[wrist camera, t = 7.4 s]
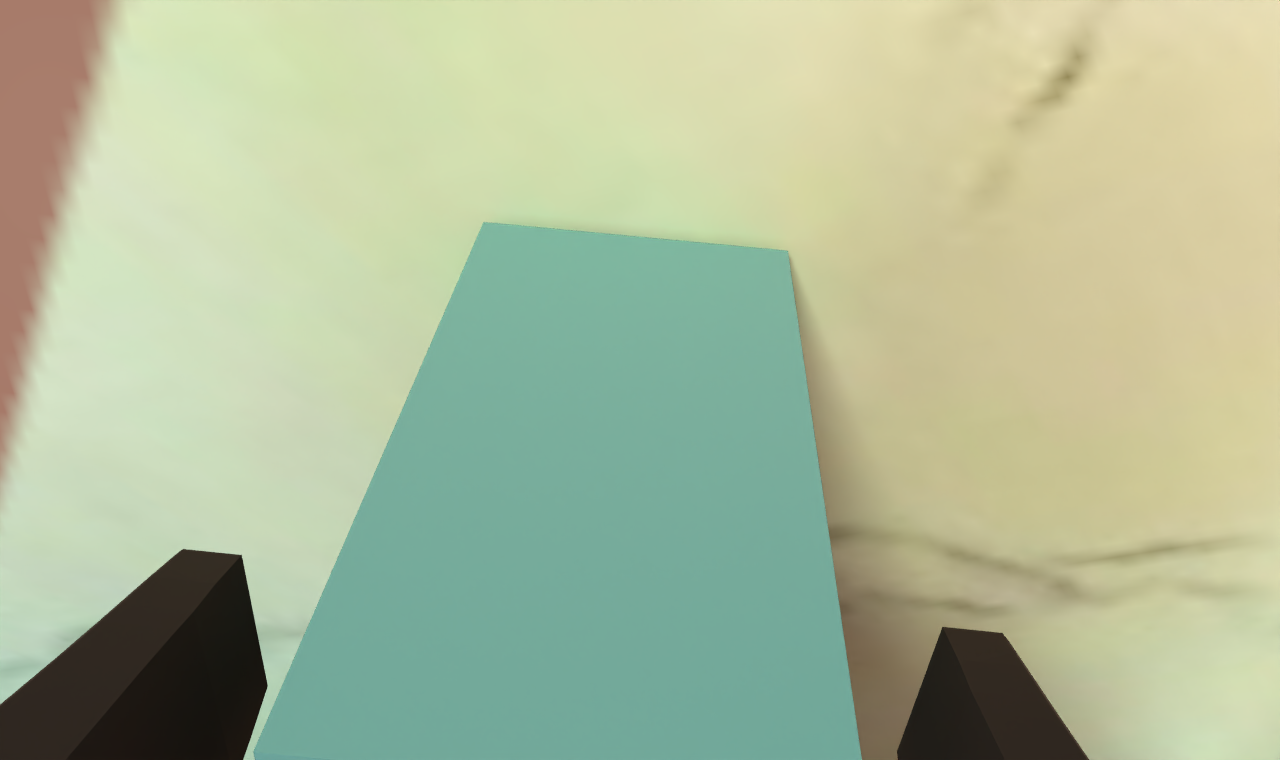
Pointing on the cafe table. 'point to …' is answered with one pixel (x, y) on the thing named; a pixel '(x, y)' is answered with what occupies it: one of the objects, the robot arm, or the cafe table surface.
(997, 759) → the robot arm
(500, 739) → the domino
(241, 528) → the cafe table surface
